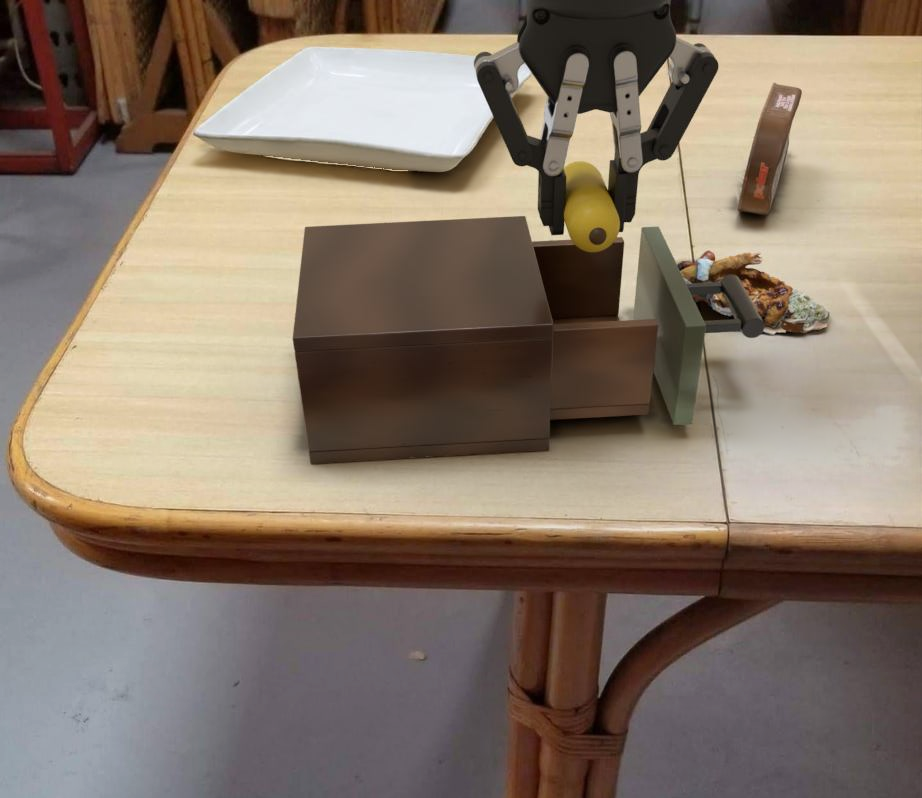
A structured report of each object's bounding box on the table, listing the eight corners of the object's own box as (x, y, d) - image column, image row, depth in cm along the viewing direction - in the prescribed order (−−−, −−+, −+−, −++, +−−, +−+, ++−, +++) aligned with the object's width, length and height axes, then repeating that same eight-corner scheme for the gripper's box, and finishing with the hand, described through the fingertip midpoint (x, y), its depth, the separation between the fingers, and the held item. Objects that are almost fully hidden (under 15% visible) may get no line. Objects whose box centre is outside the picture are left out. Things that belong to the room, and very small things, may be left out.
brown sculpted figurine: (823, 343, 75) (834, 297, 73) (654, 319, 78) (659, 274, 76) (831, 298, 80) (841, 253, 78) (672, 277, 83) (677, 233, 81)
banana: (598, 199, 68) (600, 152, 66) (623, 262, 61) (627, 212, 59) (551, 201, 68) (552, 154, 66) (571, 265, 61) (573, 215, 59)
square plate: (309, 77, 122) (304, 41, 120) (540, 96, 116) (541, 58, 113) (194, 165, 103) (186, 124, 100) (464, 194, 96) (464, 151, 94)
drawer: (717, 313, 77) (730, 222, 72) (770, 420, 67) (790, 321, 62) (460, 327, 76) (458, 235, 72) (474, 436, 66) (472, 338, 61)
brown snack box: (756, 162, 100) (771, 68, 95) (790, 166, 99) (808, 71, 94) (731, 228, 90) (747, 126, 84) (770, 233, 89) (788, 130, 83)
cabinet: (523, 331, 77) (525, 215, 72) (549, 450, 66) (553, 324, 61) (319, 342, 77) (304, 226, 71) (310, 464, 66) (292, 338, 60)
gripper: (469, -80, 50) (474, 262, 62) (764, -91, 51) (715, 250, 62) (459, -110, 56) (465, 208, 67) (724, -119, 56) (686, 198, 68)
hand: (585, 227), depth 65 cm, fingers closed on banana, 3 cm apart
